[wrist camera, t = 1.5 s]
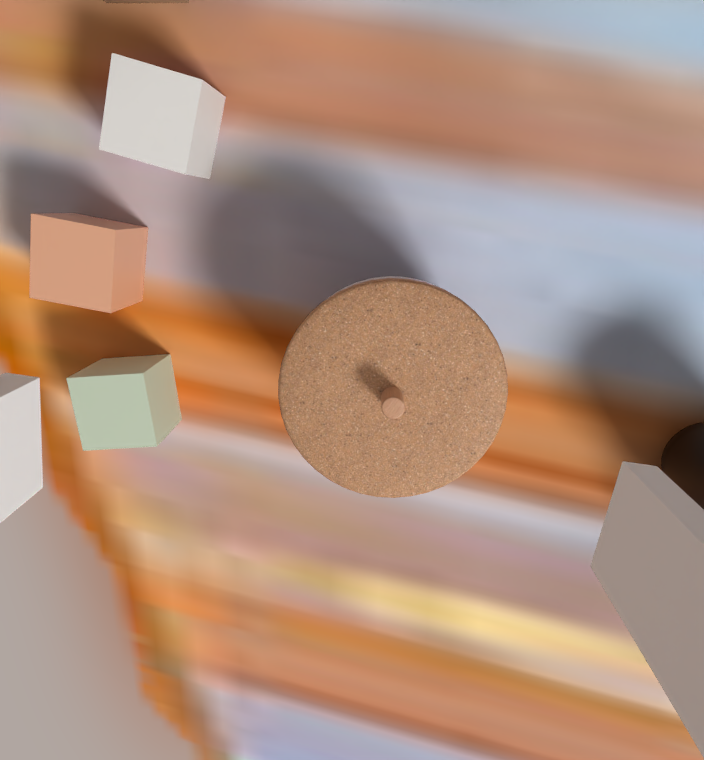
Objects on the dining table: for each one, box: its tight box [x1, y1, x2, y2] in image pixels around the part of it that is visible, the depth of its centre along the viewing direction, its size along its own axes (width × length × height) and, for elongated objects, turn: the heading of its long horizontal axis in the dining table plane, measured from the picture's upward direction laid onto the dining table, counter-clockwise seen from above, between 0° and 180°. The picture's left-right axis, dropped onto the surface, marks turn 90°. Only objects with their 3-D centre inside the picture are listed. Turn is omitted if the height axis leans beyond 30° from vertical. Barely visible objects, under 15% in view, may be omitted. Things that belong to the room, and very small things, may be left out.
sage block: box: [66, 354, 182, 451], centre depth 39 cm, size 5×5×5 cm
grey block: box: [99, 53, 226, 179], centre depth 33 cm, size 5×5×5 cm
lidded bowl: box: [278, 276, 508, 498], centre depth 34 cm, size 13×13×11 cm
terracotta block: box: [30, 213, 148, 313], centre depth 36 cm, size 5×5×5 cm
